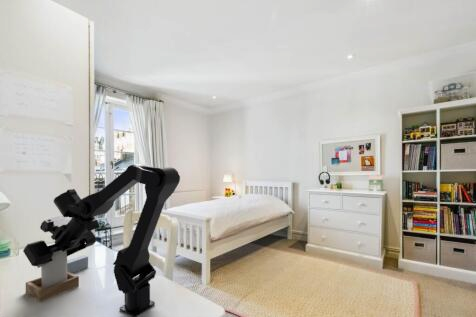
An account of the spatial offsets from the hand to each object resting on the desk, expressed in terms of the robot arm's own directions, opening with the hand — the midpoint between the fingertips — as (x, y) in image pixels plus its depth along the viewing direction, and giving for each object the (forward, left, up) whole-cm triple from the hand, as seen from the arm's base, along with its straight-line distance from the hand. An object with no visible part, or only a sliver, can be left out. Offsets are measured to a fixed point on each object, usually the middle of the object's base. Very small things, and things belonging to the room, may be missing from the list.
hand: (50, 261), depth 74 cm
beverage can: (-1, -1, -8) cm, 8 cm away
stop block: (+7, -10, -8) cm, 15 cm away
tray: (-1, 0, -8) cm, 8 cm away
